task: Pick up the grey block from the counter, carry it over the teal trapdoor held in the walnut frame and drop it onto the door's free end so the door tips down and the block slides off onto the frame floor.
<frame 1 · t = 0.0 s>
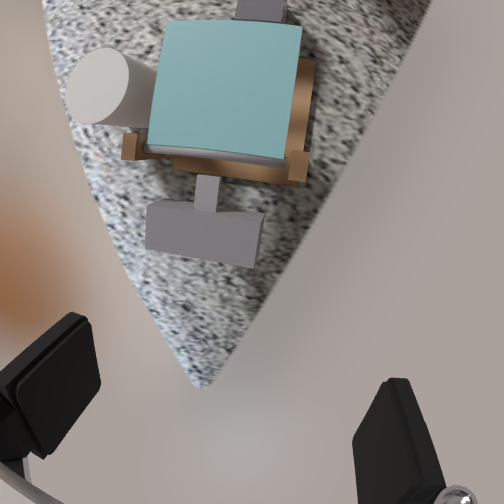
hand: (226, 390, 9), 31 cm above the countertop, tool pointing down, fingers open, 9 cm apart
cup: (146, 99, 36), on the countertop
trapdoor: (216, 134, 25), point 12 cm above the countertop, hinge at 0.0°
grey block: (265, 22, 31), on the countertop
frame: (237, 152, 37), on the countertop
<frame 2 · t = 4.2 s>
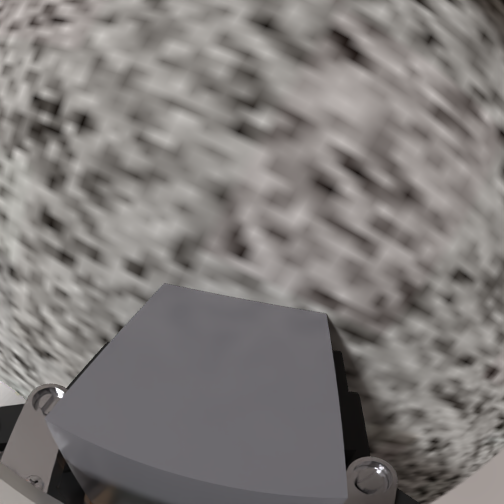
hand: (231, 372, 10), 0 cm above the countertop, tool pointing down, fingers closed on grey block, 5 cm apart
cup: (26, 421, 15), on the countertop
grey block: (234, 363, 10), on the countertop, touching gripper
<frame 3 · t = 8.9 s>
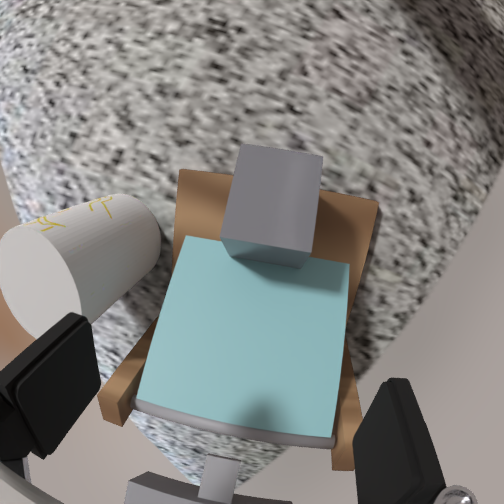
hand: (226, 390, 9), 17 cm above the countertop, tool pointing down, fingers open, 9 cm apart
cup: (122, 237, 27), on the countertop
trapdoor: (236, 403, 18), point 10 cm above the countertop, hinge at -48.6°, touching grey block
grey block: (265, 254, 19), point 6 cm above the countertop, tilted 121°, touching frame, trapdoor
frame: (255, 327, 28), on the countertop
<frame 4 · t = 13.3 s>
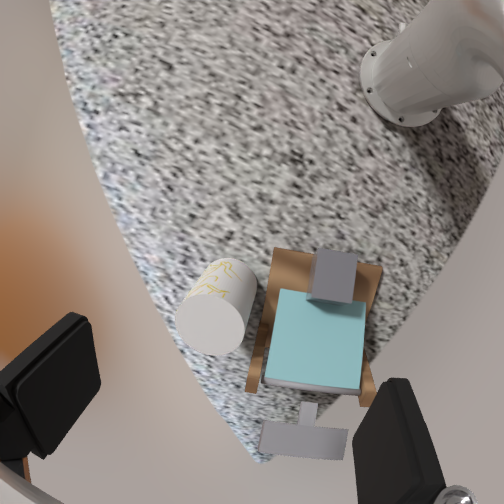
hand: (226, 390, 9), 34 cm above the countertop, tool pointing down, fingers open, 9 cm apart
cup: (229, 283, 46), on the countertop
trapdoor: (313, 374, 36), point 10 cm above the countertop, hinge at -48.7°, touching grey block
grey block: (327, 301, 38), point 6 cm above the countertop, tilted 121°, touching frame, trapdoor
frame: (309, 335, 47), on the countertop
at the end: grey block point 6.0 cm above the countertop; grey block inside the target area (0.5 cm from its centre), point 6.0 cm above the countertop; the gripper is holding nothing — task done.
